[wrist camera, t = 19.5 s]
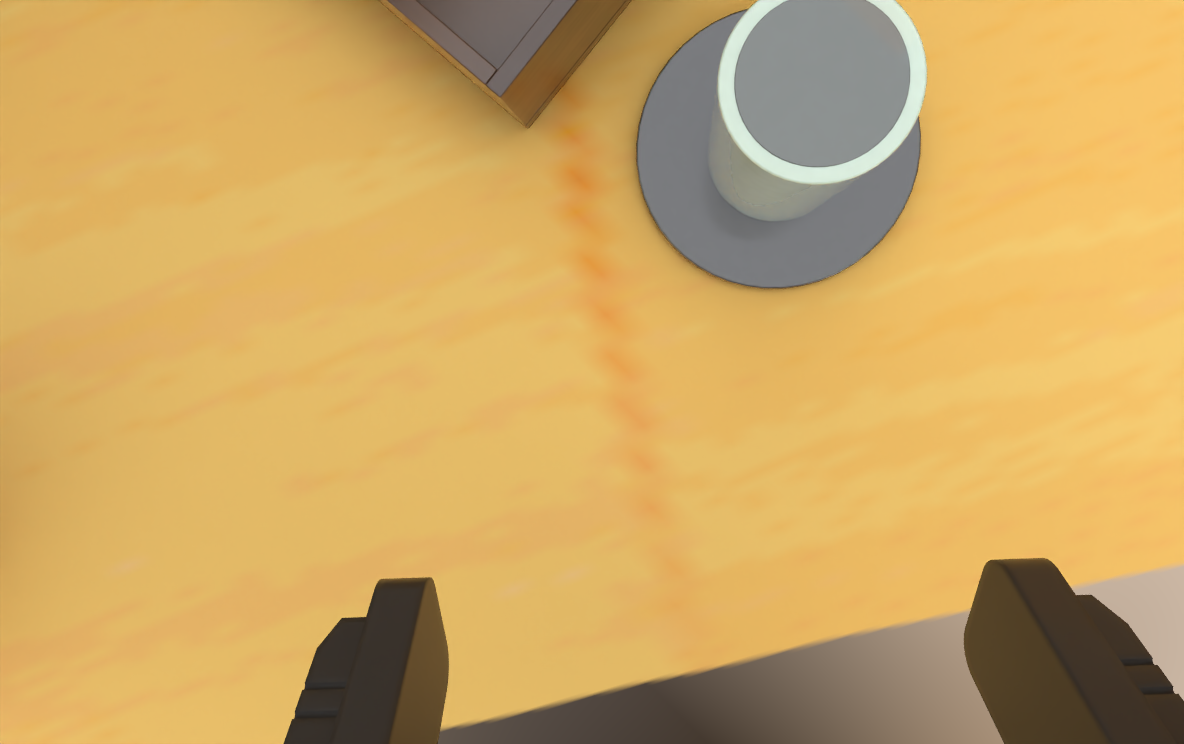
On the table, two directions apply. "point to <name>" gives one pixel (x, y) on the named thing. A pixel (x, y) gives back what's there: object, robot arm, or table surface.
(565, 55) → the open box
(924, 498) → the table surface
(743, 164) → the tumbler
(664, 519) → the table surface
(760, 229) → the coaster
